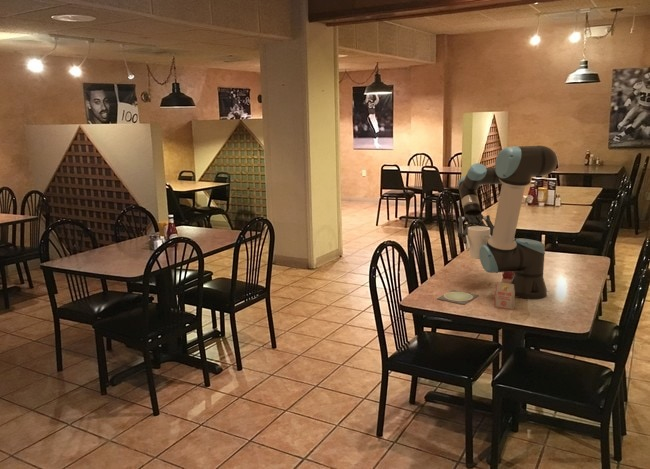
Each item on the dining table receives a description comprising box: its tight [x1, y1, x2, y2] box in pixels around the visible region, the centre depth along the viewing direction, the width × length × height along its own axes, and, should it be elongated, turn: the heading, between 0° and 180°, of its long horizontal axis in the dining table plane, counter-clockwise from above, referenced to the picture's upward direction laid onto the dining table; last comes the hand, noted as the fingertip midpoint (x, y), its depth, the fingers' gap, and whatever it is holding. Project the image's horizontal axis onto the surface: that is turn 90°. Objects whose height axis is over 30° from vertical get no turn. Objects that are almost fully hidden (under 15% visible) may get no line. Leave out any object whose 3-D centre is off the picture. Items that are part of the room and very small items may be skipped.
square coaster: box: [436, 289, 480, 306], centre depth 238 cm, size 12×14×1 cm
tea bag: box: [493, 281, 516, 311], centre depth 225 cm, size 4×7×10 cm, turn 56°
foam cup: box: [467, 225, 490, 260], centre depth 248 cm, size 10×9×13 cm
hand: (480, 249), depth 245 cm, fingers closed on foam cup, 9 cm apart
